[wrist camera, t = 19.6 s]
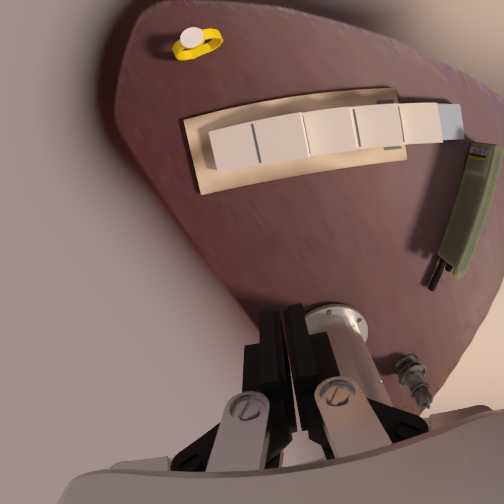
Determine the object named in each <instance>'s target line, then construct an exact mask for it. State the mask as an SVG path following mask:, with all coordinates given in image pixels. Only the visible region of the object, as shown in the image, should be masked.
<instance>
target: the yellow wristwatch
mask: <svg viewBox="0 0 504 504" xmlns="http://www.w3.org/2000/svg"><path fill="white" fill-rule="evenodd" d="M212 38H214V39H212ZM206 39H212V40H211V41H210V42H208V43H206V44H203V43H204V41H205V40H206ZM222 42H223V39H222V37H221V34H220V32H219V31H218V30H217V29H203V30H201V29H200V28H196V27H191V28H188V29H186V30H185V31H184V32H183V33H182V34H181V36H180V40H178V41H177V42H176V43H175V44H174V46H173V48H172V50H173V52H174V55H175V57H176V58H177V59H178V60H189V59H194V58H196V57H198V56H201V55H203V54H205V53H208V52H211V51H213V50H215V49H216V48H218V47H219V46H220V45H221V44H222ZM202 44H203V45H202ZM185 48H187V49H191V50H186V51H182V50H184V49H185Z"/></svg>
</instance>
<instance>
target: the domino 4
mask: <svg viewBox="0 0 504 504" xmlns="http://www.w3.org/2000/svg"><path fill="white" fill-rule="evenodd" d="M398 109H399V115H400V121H401V128H402V134H403V142H404V144H419V143H443V139H442V131H441V124H440V117H439V111H438V105H437V103H403V104H398Z"/></svg>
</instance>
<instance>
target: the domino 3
mask: <svg viewBox="0 0 504 504" xmlns="http://www.w3.org/2000/svg"><path fill="white" fill-rule="evenodd" d="M349 109H350V115H351V120H352V125H353V131H354V137H355V142H356V149H368V148H379V147H392V146H404V142H403V134H402V128H401V121H400V115H399V109H398V104H397V103H393V104H378V105H366V106H356V107H349Z"/></svg>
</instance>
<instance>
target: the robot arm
mask: <svg viewBox="0 0 504 504" xmlns="http://www.w3.org/2000/svg"><path fill="white" fill-rule="evenodd" d="M283 312H284V319H285V327H286V334H287V341H288V349H289V357H290V364H291V372H292V379H293V385H294V390H295V395H296V401H297V406H298V411H299V417H300V423H301V428H302V431H306V430H308V435H309V439H310V440H312V441H314V442H316V443H318V444H320V449H321V452H322V455H323V458H320V459H317V460H313V461H310V462H306V463H302V464H298V465H294V466H290V467H282V463H283V455H284V454H283V449H284V448H285V447H286V446H287V445H288V444H289V443H290V442H291V441H292V433H294V432H297V425H296V415H295V407H294V398H293V390H292V382H291V373H290V366H289V360H288V355H287V349H286V344H285V339H284V334H283V329H282V324H281V318H280V313H279V311H277V312H274V310H273V309H267V310H261V311H259V323H260V343H259V344H252V345H245V349H244V367H243V384H242V393H239V394H237V395H235V396H234V397H232V398H231V399H230V400H229V401H228V403H227V405H226V406H225V409H224V413H223V416H222V419H221V422H220V423H219V424H218V425H216V426H215V427H214V428H212V429H211V430H210V431H208V432H207V433H206V434H204V435H203V436H202V437H200V438H199V439H197V440H196V441H195V442H193V443H192V444H190V445H189V446H188V447H186V448H185V449H183V450H182V451H181V452H179V453H178V454H177V455H176V456H175V457H174V458H168V457H167V456H165V457H159V458H152V459H143V460H134V461H124V462H119V463H116V464H114V465H112V466H111V467H110V469H104V470H98V471H93V472H88V473H85V474H82V475H79V476H77V477H76V478H74V479H73V480H72V481H71V482H70V483H69V484H68V485H67V487H66V488H65V490H64V491H63V493H62V495H61V497H60V499H59V501H58V503H57V504H504V409H500V410H492V409H490V408H489V407H488V406H484V405H477V406H472V407H468V408H463V409H458V410H454V411H448V412H443V413H438V414H432V415H430V416H429V418H424V419H423V418H421V417H419V416H417V415H415V414H412V413H409V412H406V411H403V410H400V409H397V408H394V407H393V405H392V403H391V400H390V398H389V396H388V393H387V391H386V389H385V387H384V384H383V382H382V380H381V377H380V375H379V373H378V370H377V368H376V366H375V364H374V361H373V359H372V357H371V355H370V353H369V350H368V348H367V346H366V344H365V342H366V339H367V336H368V327H367V323H366V321H365V319H364V317H363V315H362V314H361V313H360V312H359V311H358V310H356V309H355V308H353V307H351V306H348V305H344V304H329V305H324V306H321V307H318V308H316V309H314V310H312V311H310V312H309V313H307V314H306V315H305V316H304V312H303V308H302V304H301V303H300V304H295V305H289V306H288V310H283Z"/></svg>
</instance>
